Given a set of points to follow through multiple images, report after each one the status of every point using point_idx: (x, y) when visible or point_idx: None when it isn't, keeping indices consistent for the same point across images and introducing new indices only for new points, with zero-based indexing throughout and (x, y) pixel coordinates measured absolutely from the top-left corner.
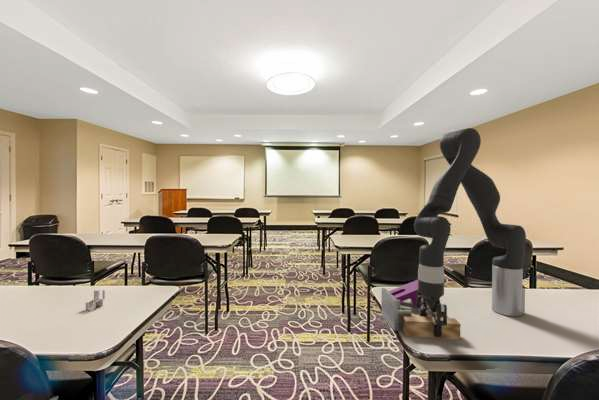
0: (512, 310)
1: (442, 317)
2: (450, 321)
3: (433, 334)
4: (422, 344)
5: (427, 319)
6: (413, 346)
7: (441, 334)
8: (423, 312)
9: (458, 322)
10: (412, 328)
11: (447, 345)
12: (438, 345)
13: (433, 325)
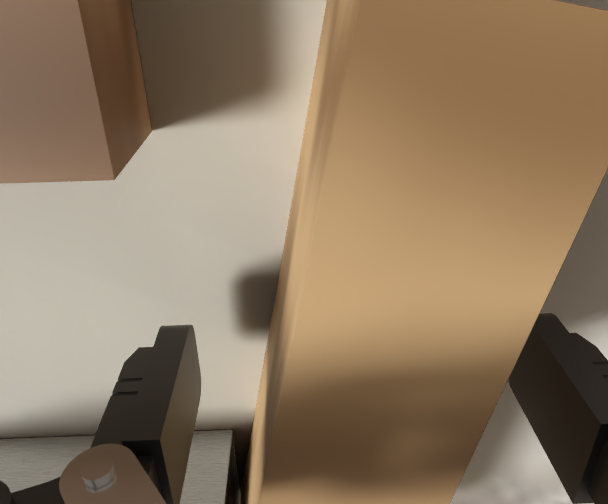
0: None
1: (55, 70)
2: (503, 178)
3: (513, 387)
4: (517, 438)
5: (366, 480)
6: (527, 499)
7: (593, 347)
8: (158, 488)
9: (586, 16)
10: None
11: (598, 246)
12: (571, 328)
13: (562, 481)
